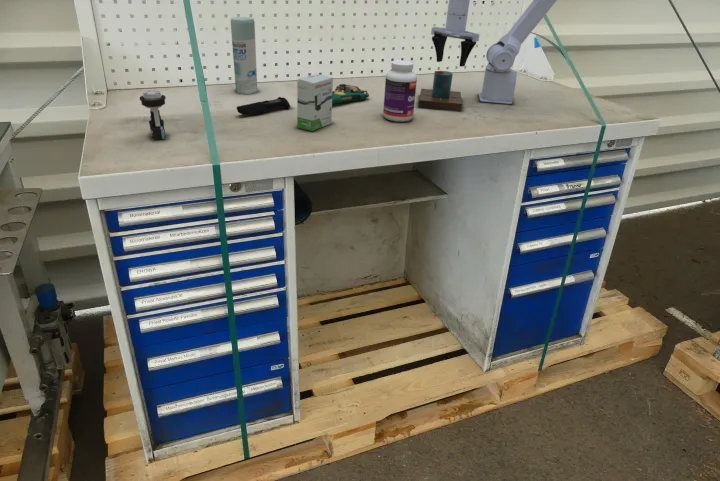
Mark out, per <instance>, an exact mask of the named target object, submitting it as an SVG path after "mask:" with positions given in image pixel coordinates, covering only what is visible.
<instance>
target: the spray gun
mask: <svg viewBox="0 0 720 481" xmlns="http://www.w3.org/2000/svg"><path fill="white" fill-rule="evenodd" d="M367 98H370V94H369V93H368V90H363V89H361V88H359V86H356V85H351V84H345V83H342V84H341V83H340V84H338V85H337V86H336V87H335V89H334V90H332V105H333V104H341V103H346V102H353V101H354V102H355V101H365V100H366V99H367Z"/></svg>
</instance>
